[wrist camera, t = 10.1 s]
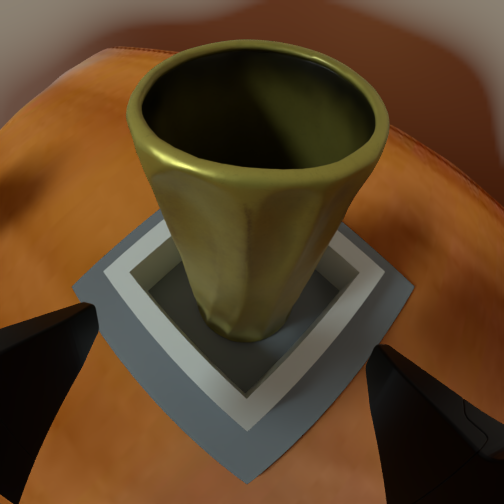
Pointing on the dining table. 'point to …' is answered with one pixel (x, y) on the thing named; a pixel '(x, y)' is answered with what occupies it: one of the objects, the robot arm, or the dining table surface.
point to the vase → (254, 169)
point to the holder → (241, 343)
